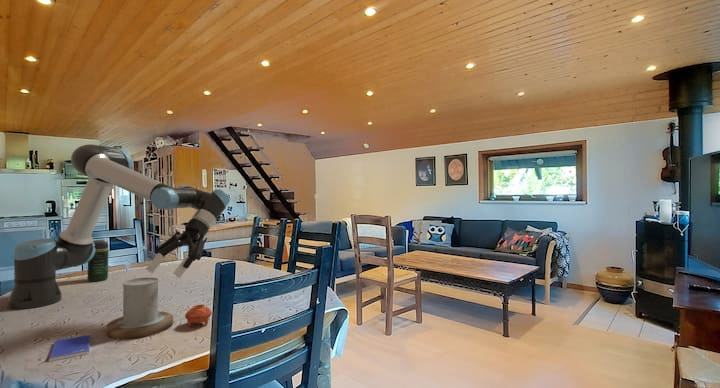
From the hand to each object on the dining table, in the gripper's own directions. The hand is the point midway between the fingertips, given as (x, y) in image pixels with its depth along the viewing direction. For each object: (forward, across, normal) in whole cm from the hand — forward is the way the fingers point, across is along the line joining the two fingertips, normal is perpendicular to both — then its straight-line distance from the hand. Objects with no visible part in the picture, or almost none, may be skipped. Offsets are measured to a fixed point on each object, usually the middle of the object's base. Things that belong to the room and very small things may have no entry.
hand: (162, 273), depth 120 cm
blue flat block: (+29, +2, +6) cm, 30 cm away
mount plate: (+16, 0, -6) cm, 17 cm away
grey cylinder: (+14, +1, -5) cm, 15 cm away
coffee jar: (-4, +75, -27) cm, 79 cm away
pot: (+9, -13, -14) cm, 21 cm away
